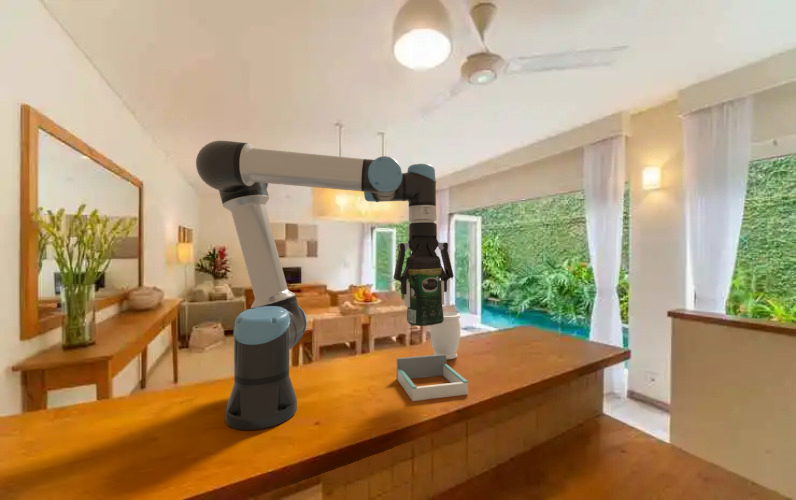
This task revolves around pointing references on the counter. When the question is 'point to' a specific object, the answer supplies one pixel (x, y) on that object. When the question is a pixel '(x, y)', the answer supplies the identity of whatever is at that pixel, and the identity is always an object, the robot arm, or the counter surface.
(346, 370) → the counter surface
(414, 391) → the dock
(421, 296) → the coffee jar
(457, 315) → the jar
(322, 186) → the robot arm
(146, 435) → the counter surface
